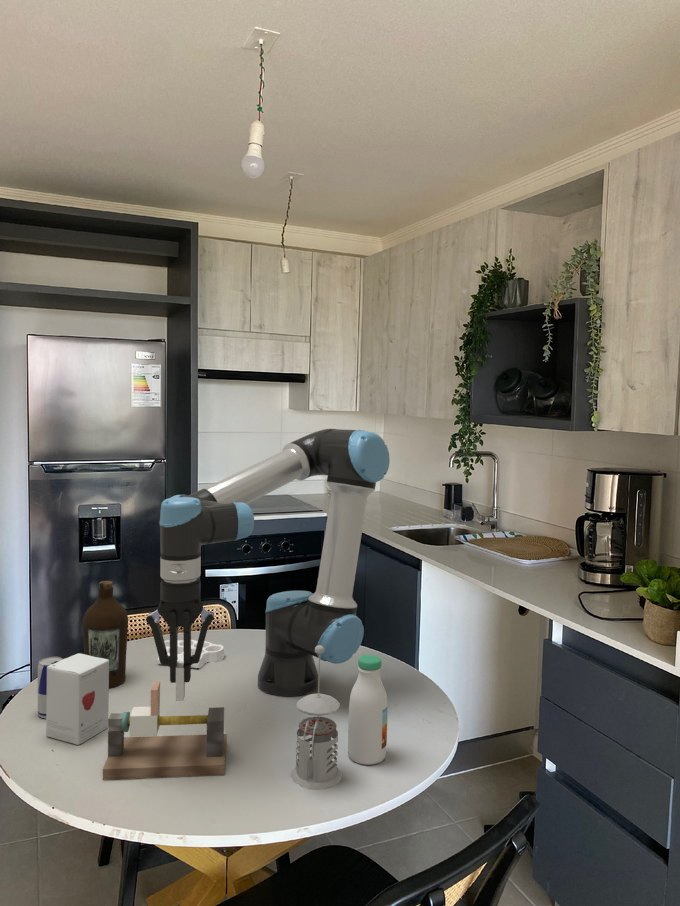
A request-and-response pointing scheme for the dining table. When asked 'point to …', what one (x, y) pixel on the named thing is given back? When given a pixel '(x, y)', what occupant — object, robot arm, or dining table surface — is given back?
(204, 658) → the white brass knuckles
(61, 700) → the supplement box
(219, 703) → the dining table surface
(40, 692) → the energy drink
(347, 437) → the robot arm
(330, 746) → the french press
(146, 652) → the dining table surface
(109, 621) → the olive oil
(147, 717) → the cube with tan panel
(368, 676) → the milk bottle
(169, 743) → the axle on two posts
